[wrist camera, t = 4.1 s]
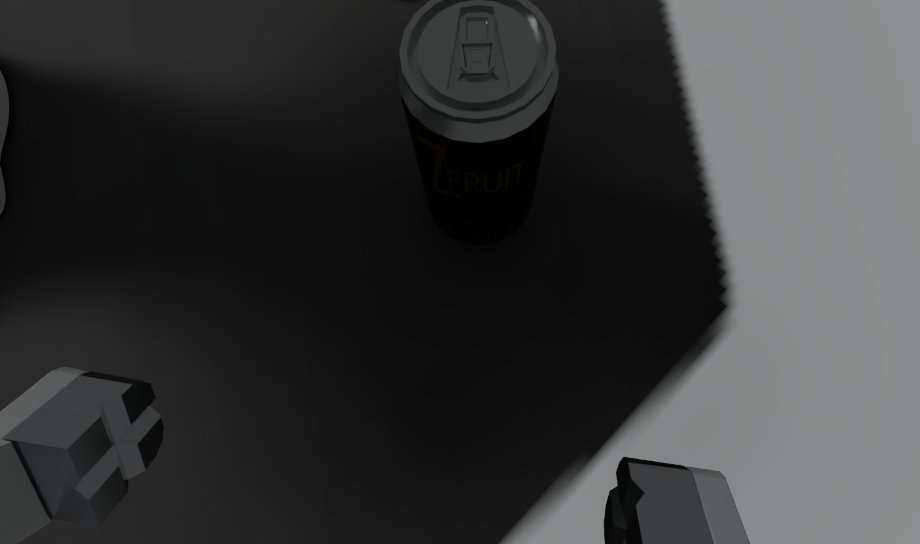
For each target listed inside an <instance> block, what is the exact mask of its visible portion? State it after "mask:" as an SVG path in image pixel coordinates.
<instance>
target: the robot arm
mask: <svg viewBox="0 0 920 544" xmlns="http://www.w3.org/2000/svg"><path fill="white" fill-rule="evenodd" d="M8 119H9V97H8V91H7V87H6V83H5V80H4V77H3V75H2V73H1V71H0V159H1V152H2V147H3V143H4V139H5V135H6V131H7V126H8ZM5 199H6V195H5V185H4V180H3V175H2V171H1V166H0V214H1V213H2V211H3V209H4V206H5ZM155 398H156V397H155V395H154V392H153V389H152V386H151V383H147V382H144V381H141V380H135V379H130V378H125V377H119V376H114V375H109V374H103V373H98V372H93V371H85V370H80V369H74V368H69V367H62V368H59V369H55V370H52V371H51V372H50V373H48V374H47V375H46V376H45V377H43V378H42V379H41V380H40V381H38V382H37V383H36V384H35V385H33V386H32V387H31V388H29V389H28V390H27V391H26V392H24V393H23V394H22V395H21V396H19V397H18V398H17V399H16V400H14V401H13V402H12V403H11V404H9V405H8V406H7V407H6V408H4V409H3V410H2V411H1V412H0V544H17V543H19V542H20V541H22V540H24V539H25V538H27V537H28V536H30V535H31V534H33V533H34V532H36V531H38V530H39V529H41V528H42V527H44V526H45V525H47V524H48V523H50V519H52V520H59V521H65V522H72V523H79V524H85V525H92V526H98V527H100V526H101V525H102V524H103V522H104V521H105V520H106V519H107V517H108V516H109V515H110V514H111V512H112V511H113V510H114V509H115V507H116V506H117V505H118V504H119V502H120V501H121V500H122V499H123V498H124V496H125V495H126V494H127V493H128V479H130V478H132V477H134V476H136V475H138V474H139V473H141V472H143V471H145V470H146V469H147V468H148V466H149V465H150V464H151V462H152V461H153V460H154V458H155V457H156V456H157V453H158V451H159V448H160V446H161V443H162V441H163V430H164V426H163V423H162V419H161V416H160V415H159V414H158V413H157V412H156V411H155V410H154V409H153V408H152V407H151V406H150V405H151V404H152V402H153V401H154V399H155ZM616 476H617V484H618V486H617V487H615V488H613V489H612V490H610V492H609V496H608V499H607V503H606V509H605V517H604V538H605V544H750V543H749V540H748V538H747V535H746V532H745V529H744V527H743V524H742V521H741V519H740V516H739V513H738V511H737V508H736V505H735V503H734V500H733V497H732V494H731V492H730V489H729V486H728V484H727V481H726V478H725V477H724V476H723V475H722V473H721V472H720V471H713V470H707V469H699V468H693V467H685V466H681V465H675V464H668V463H661V462H655V461H647V460H641V459H635V458H628V457H623V458H622V460H621V461H620V462H619V465H618V468H617V471H616Z"/></svg>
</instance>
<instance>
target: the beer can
mask: <svg viewBox="0 0 920 544" xmlns="http://www.w3.org/2000/svg"><path fill="white" fill-rule="evenodd" d="M399 54H400V61H399V65H398V70H397V76H398V82H399V89H400V95H401V99H402V103H403V107H404V111H405V115H406V119H407V123H408V126H409V130H410V134H411V138H412V142H413V146H414V150H415V154H416V158H417V162H418V166H419V169H420V173H421V177H422V181H423V185H424V189H425V193H426V197H427V201H428V205H429V209H430V212H431V214H432V216H433V218H434V219H435V221H436V223H437V225H438V226H439V227H440V228H441V229H442V230H443V231H444V232H446V233H447V234H448V235H449V236H451V237H453V238H455V239H457V240H459V241H461V242H463V243H470V244H477V245H483V244H489V243H495V242H498V241H500V240H502V239H504V238H506V237H508V236H510V235H512V234H513V233H514V232H515V231H516V230H517V229H518V228H519V227H520V226H521V225H522V224H523V222H524V220H525V218H526V216H527V214H528V212H529V210H530V207H531V202H532V198H533V193H534V189H535V184H536V180H537V175H538V171H539V166H540V162H541V157H542V153H543V148H544V144H545V139H546V135H547V131H548V126H549V122H550V117H551V113H552V108H553V104H554V99H555V95H556V90H557V82H558V74H559V64H558V60H557V56H556V44H555V40H554V36H553V32H552V28H551V26H550V24H549V23H548V21H547V20H546V18H545V17H544V15H543V14H542V12H541V11H540V10H539V9H538V8H537V7H536V6H534V5H533V4H532V3H530V2H529V1H528V0H430V1H429V2H428V3H427V4H425V5H424V6H423V7H422V8H421V9H419V10H418V11H417V12H416V13H415V14H414V16H413V17H412V19H411V21H410V22H409V24H408V25H407V27H406V29H405V30H404V32H403V37H402V42H401V46H400V51H399Z"/></svg>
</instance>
